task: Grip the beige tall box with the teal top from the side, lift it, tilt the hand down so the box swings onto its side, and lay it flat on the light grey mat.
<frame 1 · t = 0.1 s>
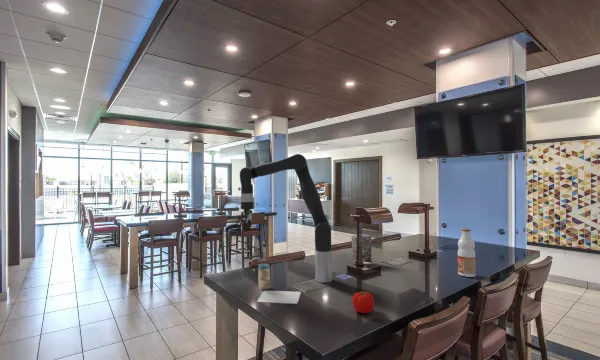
hand: (247, 228, 181), 29 cm above the table, tool pointing down, fingers open, 8 cm apart
grey mat: (279, 297, 149), on the table
stone block: (361, 264, 212), on the table
tomato: (363, 312, 131), on the table
beige tall box: (264, 287, 163), on the table
fruit juice: (466, 276, 183), on the table
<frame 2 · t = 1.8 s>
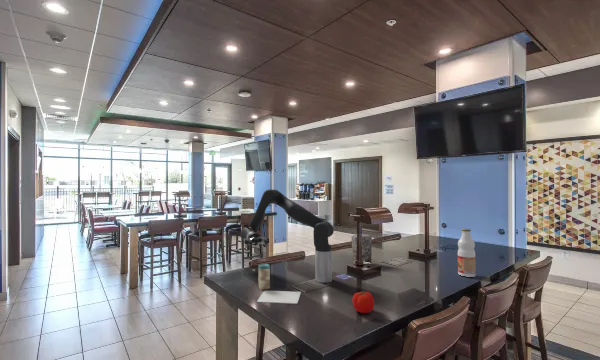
hand: (259, 242, 174), 22 cm above the table, tool horizontal, fingers open, 8 cm apart
nothing on the table moved.
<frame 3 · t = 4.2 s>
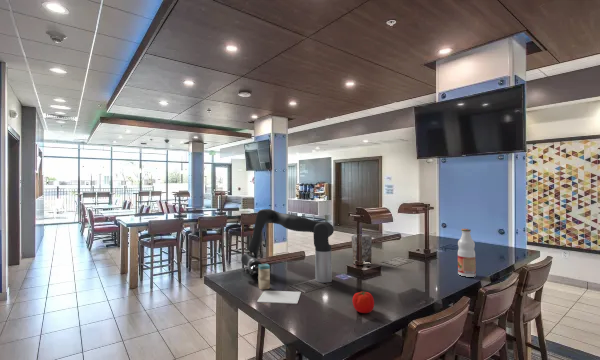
hand: (260, 272, 171), 6 cm above the table, tool horizontal, fingers open, 8 cm apart
nothing on the table moved.
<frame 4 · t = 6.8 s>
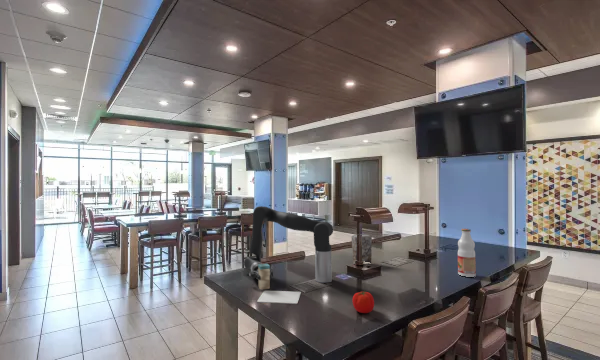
hand: (265, 277, 160), 6 cm above the table, tool horizontal, fingers closed on beige tall box, 5 cm apart
beige tall box: (264, 287, 163), on the table, touching gripper
everything else where it was.
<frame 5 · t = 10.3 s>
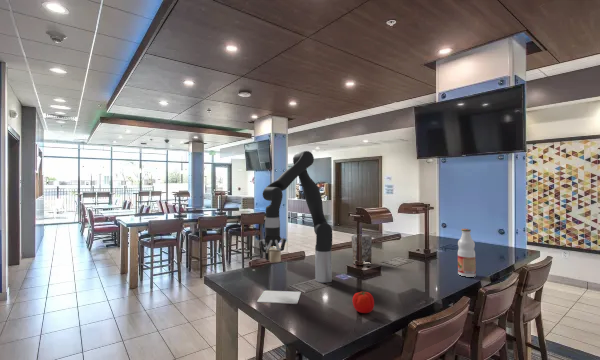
hand: (272, 259, 155), 17 cm above the table, tool pointing down, fingers closed on beige tall box, 5 cm apart
beige tall box: (275, 257, 150), point 19 cm above the table, tilted 90°, touching gripper
everything else where it was.
when the fingers open (3 cm above the table, at t = 13.6 s): beige tall box drops 2 cm, resting on grey mat.
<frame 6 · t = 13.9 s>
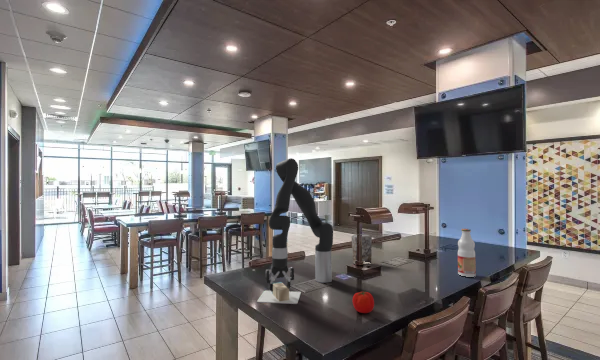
hand: (279, 290, 149), 4 cm above the table, tool pointing down, fingers open, 8 cm apart
beige tall box: (284, 295, 143), point 3 cm above the table, tilted 90°, touching grey mat
everything else where it was.
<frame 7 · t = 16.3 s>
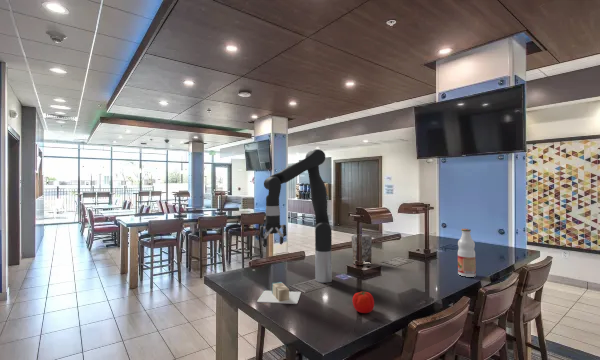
hand: (273, 245, 162), 23 cm above the table, tool pointing down, fingers open, 8 cm apart
nothing on the table moved.
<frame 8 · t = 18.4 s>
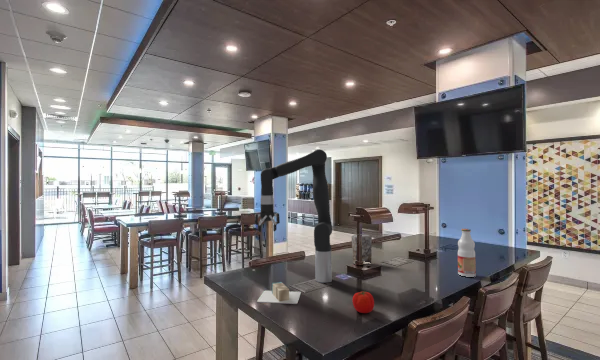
hand: (267, 231, 175), 28 cm above the table, tool pointing down, fingers open, 8 cm apart
nothing on the table moved.
at the end: beige tall box tilted 90°; beige tall box inside the target area on the grey mat (7.3 cm from its centre), point 2.9 cm above the grey mat's base; the gripper is holding nothing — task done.
